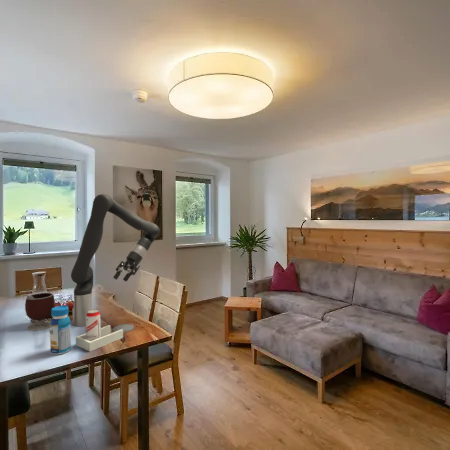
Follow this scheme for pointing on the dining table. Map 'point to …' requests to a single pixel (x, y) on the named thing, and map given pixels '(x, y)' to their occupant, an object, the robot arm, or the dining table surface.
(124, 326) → the mat
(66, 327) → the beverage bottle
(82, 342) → the cream open tray
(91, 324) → the beer can
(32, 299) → the mate gourd
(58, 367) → the dining table surface
